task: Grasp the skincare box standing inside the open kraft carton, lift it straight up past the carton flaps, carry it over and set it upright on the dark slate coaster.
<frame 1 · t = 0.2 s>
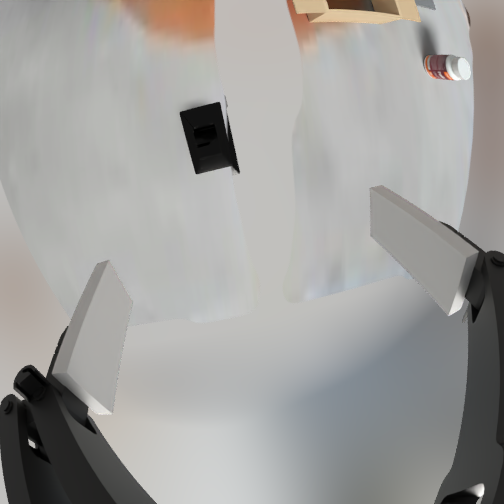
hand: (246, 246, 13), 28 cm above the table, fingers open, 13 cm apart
black boxy piece: (206, 138, 36), on the table
pill bottle: (431, 66, 33), on the table
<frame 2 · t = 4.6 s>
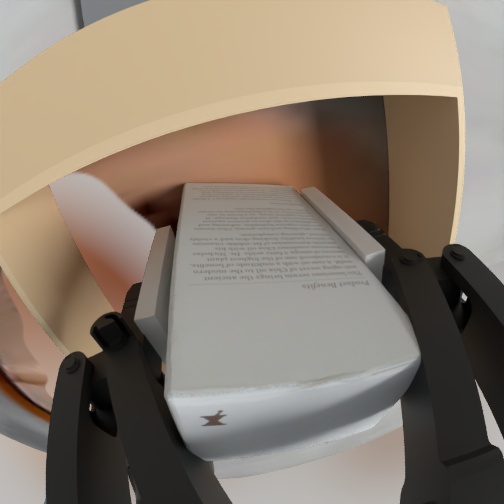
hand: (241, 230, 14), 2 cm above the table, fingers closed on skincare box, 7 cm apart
skincare box: (237, 216, 16), resting in carton, touching gripper
carton: (238, 218, 16), on the table
when the fingers open (3 cm above the table, at t = 11.6 s): skincare box stays where it is, resting on coaster.
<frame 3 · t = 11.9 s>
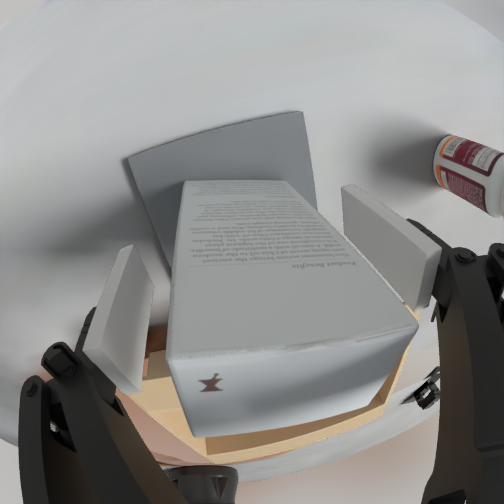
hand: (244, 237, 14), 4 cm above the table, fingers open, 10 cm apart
skincare box: (236, 211, 16), resting on coaster
black boxy piece: (422, 386, 42), on the table
carton: (277, 366, 26), on the table
pill bottle: (447, 160, 18), on the table
coaster: (234, 208, 17), on the table
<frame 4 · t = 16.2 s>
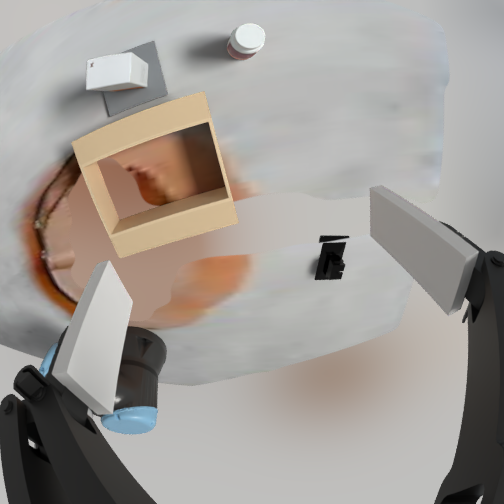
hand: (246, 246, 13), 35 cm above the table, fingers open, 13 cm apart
skincare box: (131, 77, 34), resting on coaster
black boxy piece: (328, 260, 59), on the table
carton: (159, 171, 43), on the table
pill bottle: (241, 47, 35), on the table
coaster: (131, 78, 34), on the table
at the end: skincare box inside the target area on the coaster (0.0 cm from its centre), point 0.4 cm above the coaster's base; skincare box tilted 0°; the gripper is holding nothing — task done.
